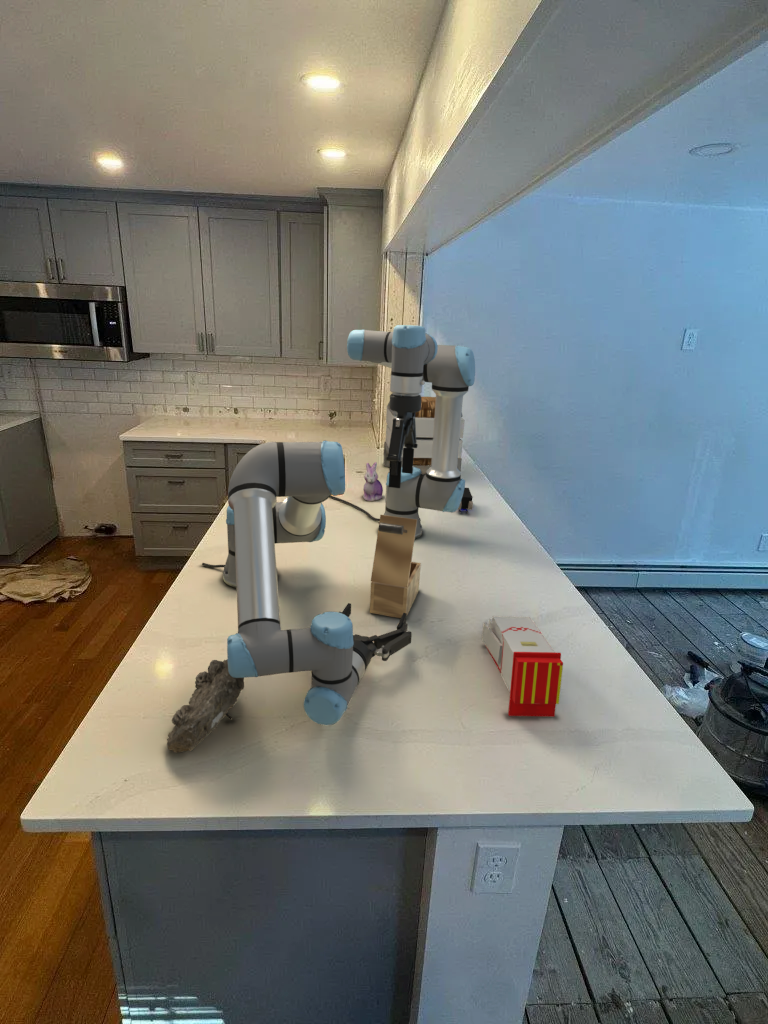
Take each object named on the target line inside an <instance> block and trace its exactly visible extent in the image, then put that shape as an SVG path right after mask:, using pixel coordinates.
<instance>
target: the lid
mask: <svg viewBox="0 0 768 1024" xmlns="http://www.w3.org/2000/svg"><path fill="white" fill-rule="evenodd" d="M379 515H380V516H379V519H380V521H378V522H379V523H378V528H377V536H376V543H375V548H374V556H373V563H372V570H371V575H370V576H371V577H370V582H378V583H384V584H390V585H396V586H402V587H408V582H409V575H410V568H411V562H413V561H412V560H413V553H414V547H415V539H416V538H415V533H416V526H417V519H410V518H402V517H395V516H388V515H384V514H379Z"/></svg>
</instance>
